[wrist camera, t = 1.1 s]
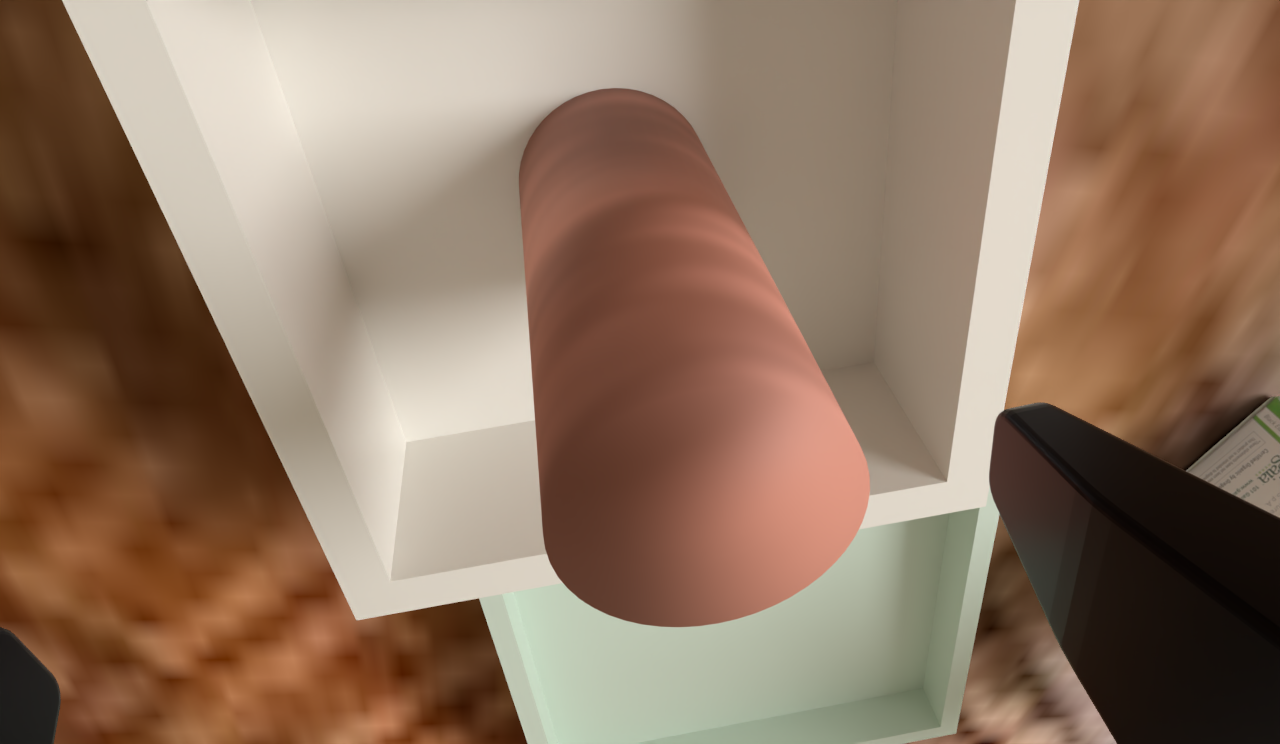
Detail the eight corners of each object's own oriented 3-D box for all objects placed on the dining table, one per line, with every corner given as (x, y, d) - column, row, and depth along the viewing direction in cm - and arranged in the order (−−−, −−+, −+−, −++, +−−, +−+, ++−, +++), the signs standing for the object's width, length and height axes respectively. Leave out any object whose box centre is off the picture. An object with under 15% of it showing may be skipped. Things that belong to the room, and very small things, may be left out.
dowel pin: (700, 73, 18) (879, 359, 10) (711, 249, 20) (862, 596, 12) (501, 104, 17) (512, 421, 9) (536, 278, 20) (570, 650, 12)
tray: (964, 419, 25) (1006, 479, 23) (926, 670, 32) (955, 733, 30) (472, 505, 24) (471, 575, 22) (546, 743, 31) (550, 812, 29)
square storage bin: (959, -267, 15) (1128, -268, 11) (901, 375, 24) (985, 506, 20) (140, -156, 14) (7, -115, 10) (379, 465, 23) (356, 620, 19)
